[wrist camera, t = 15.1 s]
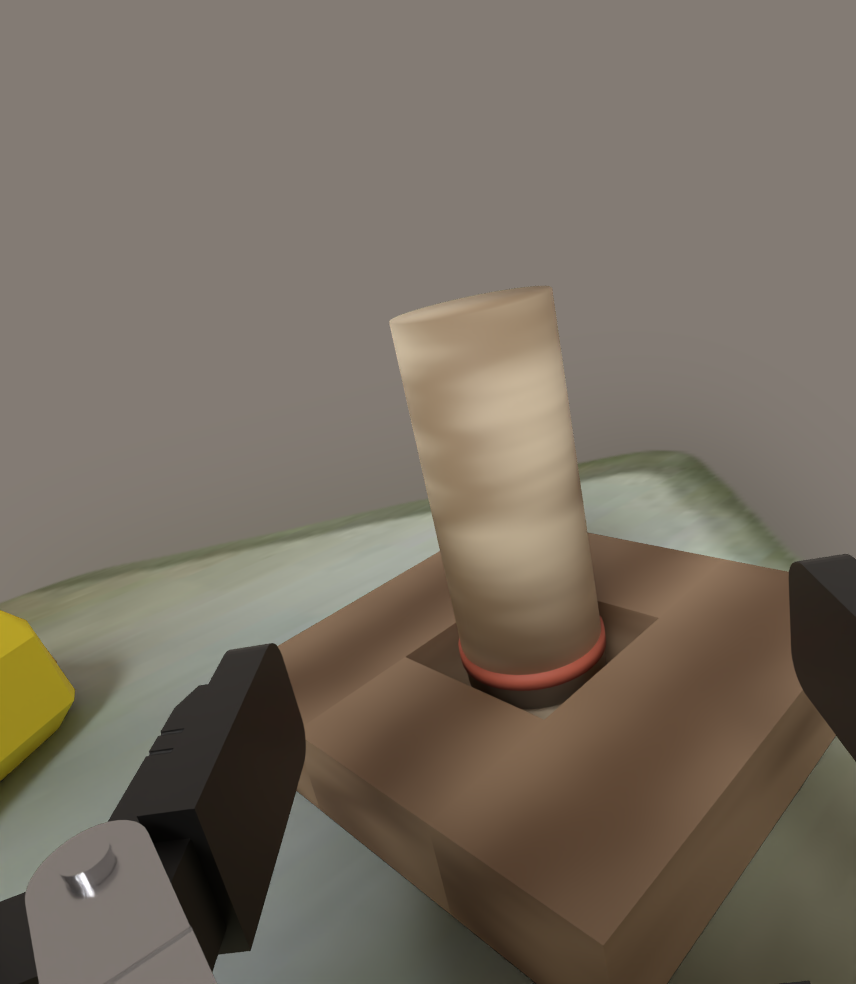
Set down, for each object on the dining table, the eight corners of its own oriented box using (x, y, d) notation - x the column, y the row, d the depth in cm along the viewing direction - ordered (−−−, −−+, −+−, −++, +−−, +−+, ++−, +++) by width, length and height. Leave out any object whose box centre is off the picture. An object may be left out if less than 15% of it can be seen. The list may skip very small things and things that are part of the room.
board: (244, 748, 26) (219, 679, 25) (510, 571, 35) (500, 515, 34) (621, 1051, 15) (603, 945, 14) (879, 670, 23) (880, 590, 22)
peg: (448, 727, 25) (352, 328, 20) (534, 657, 28) (467, 293, 23) (557, 785, 22) (472, 319, 17) (644, 698, 24) (591, 278, 20)
